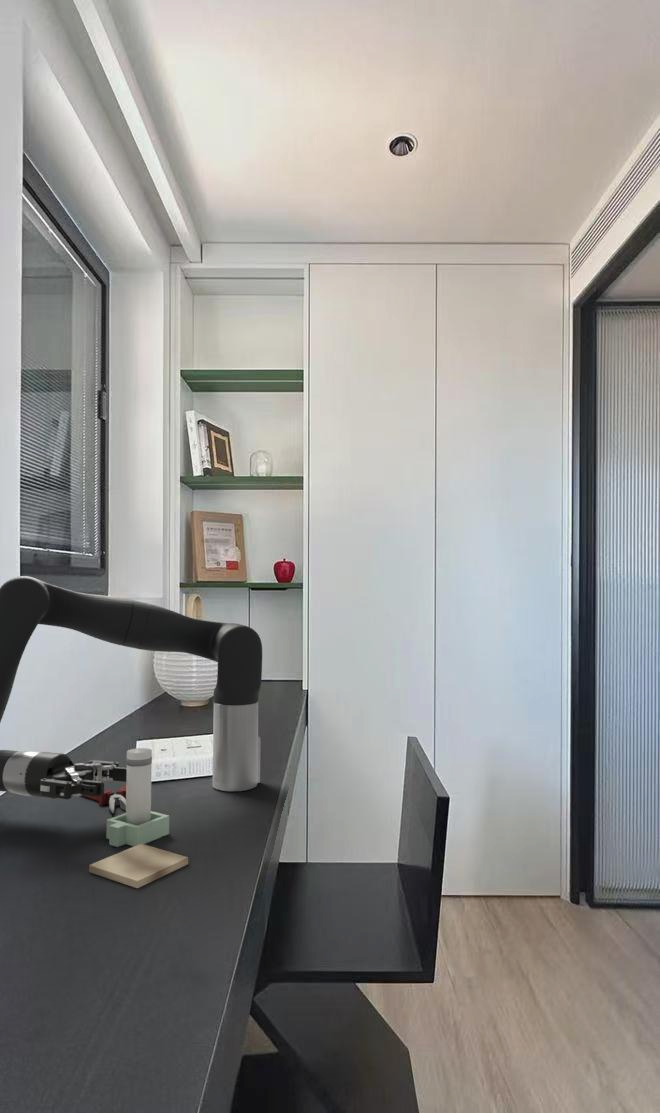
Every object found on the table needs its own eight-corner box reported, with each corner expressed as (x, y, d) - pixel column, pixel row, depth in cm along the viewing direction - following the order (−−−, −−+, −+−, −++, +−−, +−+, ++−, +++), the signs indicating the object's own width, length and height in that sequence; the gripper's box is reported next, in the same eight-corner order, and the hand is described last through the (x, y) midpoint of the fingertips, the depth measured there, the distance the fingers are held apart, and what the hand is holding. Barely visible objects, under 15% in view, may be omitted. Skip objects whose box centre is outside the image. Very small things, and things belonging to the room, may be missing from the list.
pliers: (87, 822, 125) (88, 807, 125) (77, 791, 144) (77, 778, 144) (153, 814, 130) (153, 800, 130) (135, 785, 148) (135, 772, 148)
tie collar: (139, 825, 123) (139, 808, 123) (169, 833, 119) (169, 815, 119) (98, 841, 115) (98, 822, 115) (129, 850, 111) (129, 831, 112)
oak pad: (141, 849, 112) (141, 843, 112) (188, 864, 106) (188, 857, 106) (89, 872, 103) (89, 865, 103) (137, 888, 98) (137, 881, 98)
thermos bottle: (138, 829, 120) (140, 746, 121) (156, 834, 118) (157, 750, 119) (119, 837, 117) (121, 751, 117) (137, 842, 115) (138, 755, 115)
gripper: (8, 762, 117) (92, 770, 112) (65, 743, 131) (142, 749, 126) (8, 808, 117) (92, 818, 112) (64, 784, 131) (141, 792, 126)
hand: (118, 782), depth 119 cm, fingers open, 8 cm apart
